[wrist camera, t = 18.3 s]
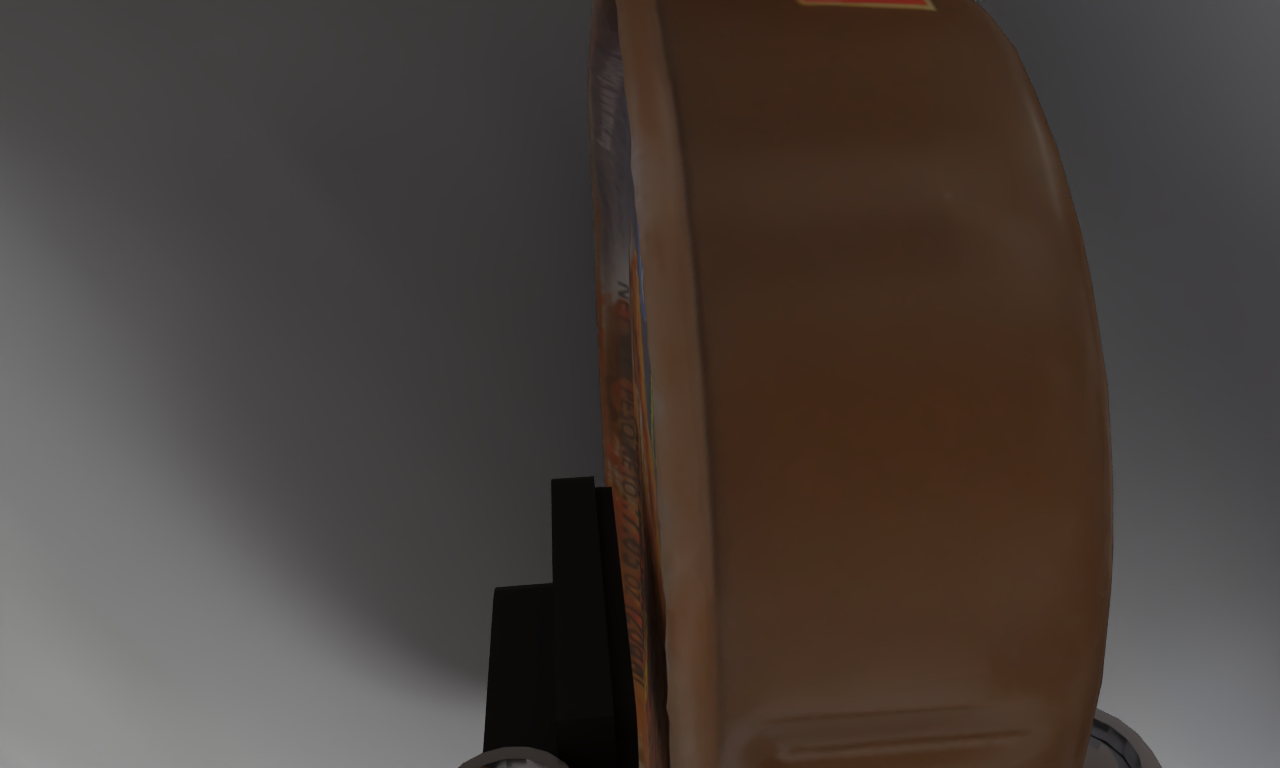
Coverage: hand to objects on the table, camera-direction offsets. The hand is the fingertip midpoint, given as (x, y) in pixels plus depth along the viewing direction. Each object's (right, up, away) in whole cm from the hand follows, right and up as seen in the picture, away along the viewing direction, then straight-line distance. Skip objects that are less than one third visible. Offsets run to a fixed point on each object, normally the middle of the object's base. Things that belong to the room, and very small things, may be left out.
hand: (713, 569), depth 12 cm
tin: (0, +1, +2) cm, 2 cm away
